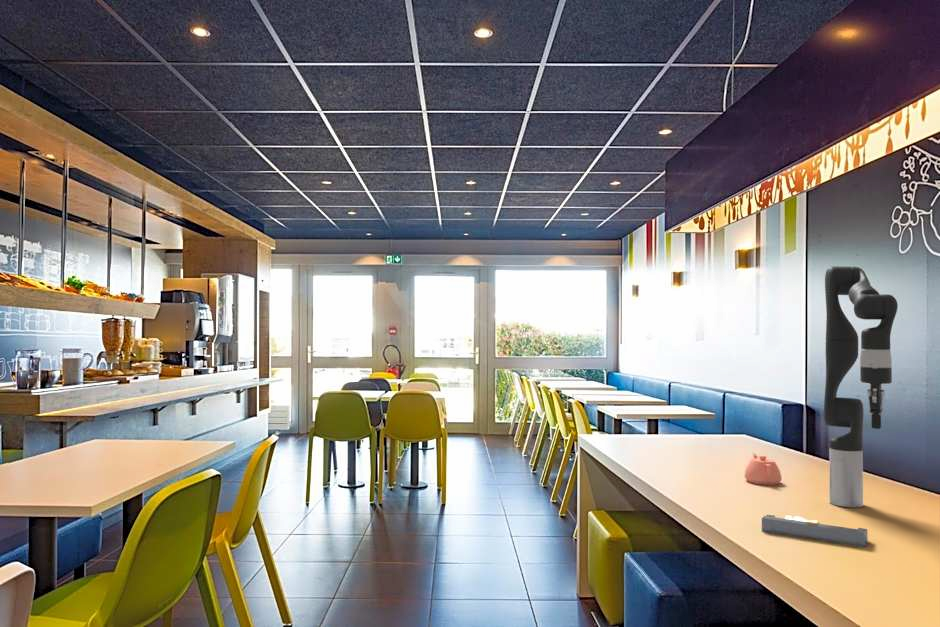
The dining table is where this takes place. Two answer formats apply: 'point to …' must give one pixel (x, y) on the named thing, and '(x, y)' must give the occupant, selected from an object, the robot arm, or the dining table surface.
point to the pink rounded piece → (762, 471)
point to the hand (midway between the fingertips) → (876, 428)
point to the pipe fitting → (799, 519)
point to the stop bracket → (815, 531)
